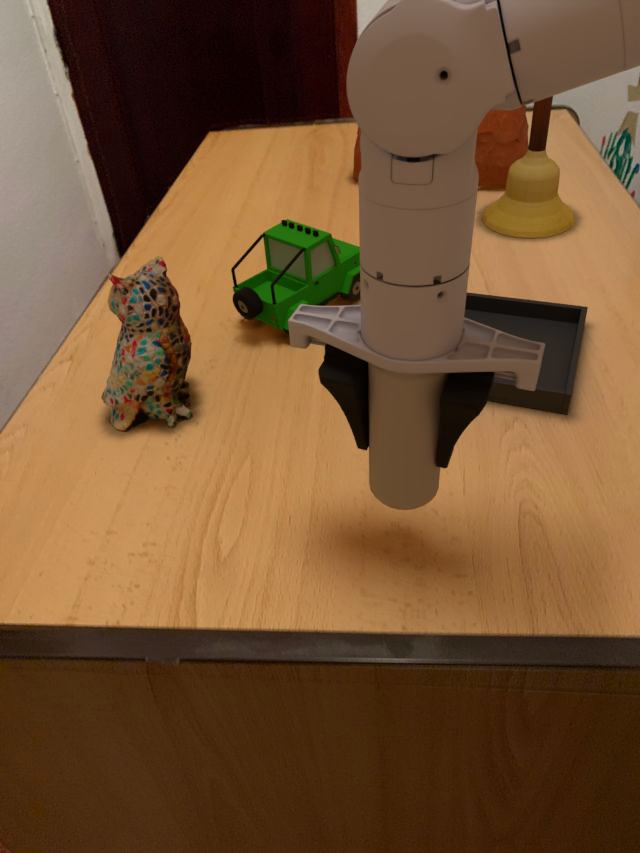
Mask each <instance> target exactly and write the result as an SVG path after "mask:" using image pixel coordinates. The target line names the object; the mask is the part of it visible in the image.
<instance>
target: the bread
mask: <svg viewBox="0 0 640 853" xmlns="http://www.w3.org/2000/svg"><path fill="white" fill-rule="evenodd" d="M526 114H527V105H525V106H524V104H523V105H522V107H520V108H517V109H514V110H510V111H506V110H490V111H489V112H488V113H487V114H486V115H485V117H484V118H483V120H482V122H481V123H480V125H479V127H478V130H477V140H476V150H475V164H476V167H477V169H478V174H479V182H478V187H488V188H489V187H490V188H492V187H493V188H506V182H507V177H508V172H509V169H510V167H511V165H512V164H513V163H514V162H516V161H517V160H518V159H521V158H523V157H524V156H525V155H526V153H527V151H528V148H529V127H530V126H529V123H528V119H527V118H528V117H527V115H526ZM356 135H357V136H356V139H355V144H354V148H353V171H352V172H353V173H352V177H353V178H354V179H355V181H358V182H359V173H360V171H361V151H360V136H361V129H360V128H359V126H358V125H357V131H356Z"/></svg>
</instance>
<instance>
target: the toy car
mask: <svg viewBox="0 0 640 853" xmlns="http://www.w3.org/2000/svg"><path fill="white" fill-rule="evenodd" d="M280 221H281V222H279V223H278V224H275V225H274V226H272V227H270V228H268V229H267V230H265V231H263V232H262V234H259V236H258V237H257V238H256V240H254V242H252V244H251V245H250V247H249V248H248V249H247V250H246V251H245V252H244V253H243V255H242V256H241V257H240V258H239V259H238V260H237V262H235V263H234V265H233V266H232V267H231V269H230V272H231V278H232V282H233V286H232V290H233V294H232V304H233V306H234V308H235V310H236V311H237V312H238V314H239V315H240V316H241V317H242V318H244V319H245V320H248V321H249V320H250V321H251V320H253V319H254V320H257V321H261V322H262V323H264V324H267V325H269V326H270V327H273V328H275V329H277V330H279V331H283V332H284V333H285V334H287V335H289V326H288V320H289V318H290V317H291V316H292V314H293V313H294V312H295V310H296V309H297V308H298V307H299V305H300V304H306V305H315V306H326V305H327V304H329V303H331V302H332V301H333V300H335V299H337V298H338V297H341V298H342V299H344V300H347V301H349V302H351V303H352V302H353V303H354V302H357V301H358V300H359V299H361V297H360V245H359V246H358V245H355V244H353V243H349V242H346V241H345V240H344V241H343V240H340V239H338V238H334V237H333V235H332V233H331V232H328V231H326V230H321V229H319V228H316V227H314V226H313V227H312V226H310V225H307V224H303V223H301V222H298V221H294V220H292V219H288V218H286V219H281V220H280ZM262 239H263V246H264V247H263V248H264V256H265V263H266V269H263V270H262V271H260V272H258V273H256V274H255V275H253V276H250V277H248V278H247V279H244V280H243V281H241V282H239V283H238V281H237V276H236V271H235V270H236V269H237V268H238V266H240V264H241V263H242V262H243V261H244V260H245V259H246V257H247V256H248V255H249V254H250V253H251V252H252V251H253V249H255V247H257V245H259V243H260V242H261V240H262Z"/></svg>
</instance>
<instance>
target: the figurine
mask: <svg viewBox="0 0 640 853" xmlns="http://www.w3.org/2000/svg"><path fill="white" fill-rule="evenodd" d="M167 272H168V268H167V264H166V262H165V260H164V258H163V257H161V256H159V255H156V256H155V257H154V259H150V260H149V261H148V262H147V263H145V264H143V265H141V266H140V268H139V269H138V270H136V271H135V272H134V273H132V274H129V275H128V276H126V277H120V276H116V275H114V274H111V273H110V272H109V273H108V274H107V275H108V280H109V281H110V282H111V283H112V285H111V288H110V290H109V293H108V298H107V304H108V309H109V311H110V312H111V313H112V314H114V315H115V316H116V317H117V319H118V320H119V321H120V323H121V325H120V330H119V332H118V336H117V339H116V346H115V347H114V348H115V350H114V354H113V358H112V362H111V368H110V369H109V373H108V374H109V375H108V378H107V380H106V385H105V387H104V389H103V391H102V394H101V397H100V399H101V400H102V401H103V404H104V405H106V406H108V407H110V408H111V409H110V411H109V414H110V417H109V422H110V423H111V425H112V426H113V427H114V429H115V430H116V431H121V432H127V431H130V430H132V429H133V428H135V427H136V426H139V425H141V424H143V423H146V422H147V421H148V420H158V419H159V420H160V419H161V420H166V425H167V426H168V427H171V428H172V427H175V425H177V422H178V421H181V420H188V419H189V418H191V417H193V416H194V412H192V409H190V408H189V407H190V406H191V402H190V399H189V398H191V394H190V392H189V391H188V390H187V389H186V388H188V387H189V386H190V383H189V382H188V381H187V380H186V378H187V374H188V373H187V372H188V367H189V365H190V361H191V360H192V344H193V343H192V339H191V334H190V332H189V330H188V327H187V326H186V325H185V323H184V321H183V318H182V316H181V301H180V295H179V292H178V289H177V288H176V287H175V285H173V284H172V281H171V279H170V278H169V276H167Z"/></svg>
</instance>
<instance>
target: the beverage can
mask: <svg viewBox="0 0 640 853" xmlns="http://www.w3.org/2000/svg"><path fill="white" fill-rule="evenodd" d="M449 375H450V373H422V374H406V373H398V372H392V371H389V370H385V369H383V368H380V367H378V366H375V365H373V364H371V363H369V362H368V391H369V447H368V485H369V489H370V492H371V493H372V495H373V497H374V498H375V499H377V500H378V501H379V502H380V503H381V504H383V505H385V506H386V507H388V508H390V509H395V510H398V511H412V510H416V509H419V508H422V507H424V506H426V505H427V504H429V503H430V502H431V501H432V500H433V499H434V498H435V497H436V496H437V494H438V491H439V488H440V487H439V486H440V475H441V467H437V466H436V456H437V451H438V445H439V440H440V432H441V414H440V396H441V394H442V391H443V389H444V386H445V384H446V381H447V379H448V377H449Z"/></svg>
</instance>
